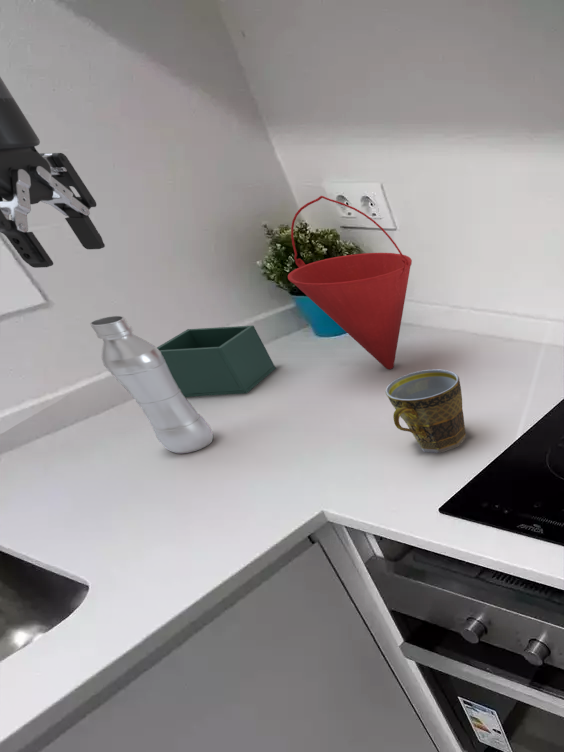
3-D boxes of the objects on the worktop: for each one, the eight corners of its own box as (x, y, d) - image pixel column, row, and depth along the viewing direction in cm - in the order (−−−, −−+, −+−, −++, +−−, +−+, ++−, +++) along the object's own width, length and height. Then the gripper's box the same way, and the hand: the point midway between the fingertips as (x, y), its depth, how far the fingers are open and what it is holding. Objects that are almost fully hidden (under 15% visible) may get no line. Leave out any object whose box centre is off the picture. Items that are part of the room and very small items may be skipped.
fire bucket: (464, 352, 113) (417, 184, 94) (415, 395, 98) (347, 206, 79) (369, 348, 116) (304, 185, 97) (307, 390, 101) (216, 206, 82)
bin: (180, 399, 99) (148, 352, 94) (214, 374, 108) (187, 329, 102) (248, 395, 100) (220, 347, 94) (277, 370, 109) (253, 325, 103)
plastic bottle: (190, 461, 83) (98, 331, 70) (158, 455, 85) (63, 326, 72) (229, 440, 88) (149, 314, 75) (198, 434, 89) (115, 310, 77)
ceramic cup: (430, 425, 90) (410, 367, 83) (487, 429, 88) (471, 370, 82) (384, 470, 80) (356, 408, 73) (447, 475, 78) (425, 412, 72)
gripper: (-15, 94, 64) (82, 244, 74) (-148, 98, 53) (-12, 274, 63) (53, 92, 65) (140, 242, 75) (-64, 97, 53) (57, 272, 64)
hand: (70, 257), depth 69 cm, fingers open, 8 cm apart
